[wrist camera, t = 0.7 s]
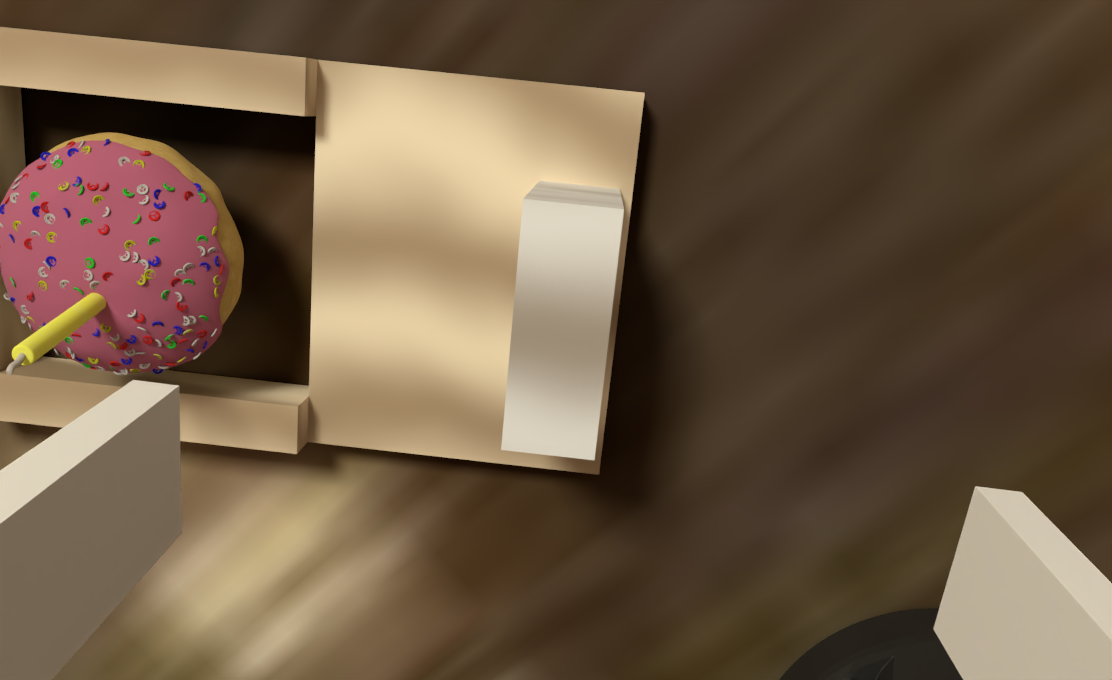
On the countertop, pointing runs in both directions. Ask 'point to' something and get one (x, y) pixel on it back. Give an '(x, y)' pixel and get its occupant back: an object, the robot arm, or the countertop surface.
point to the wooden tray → (390, 253)
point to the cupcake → (118, 255)
